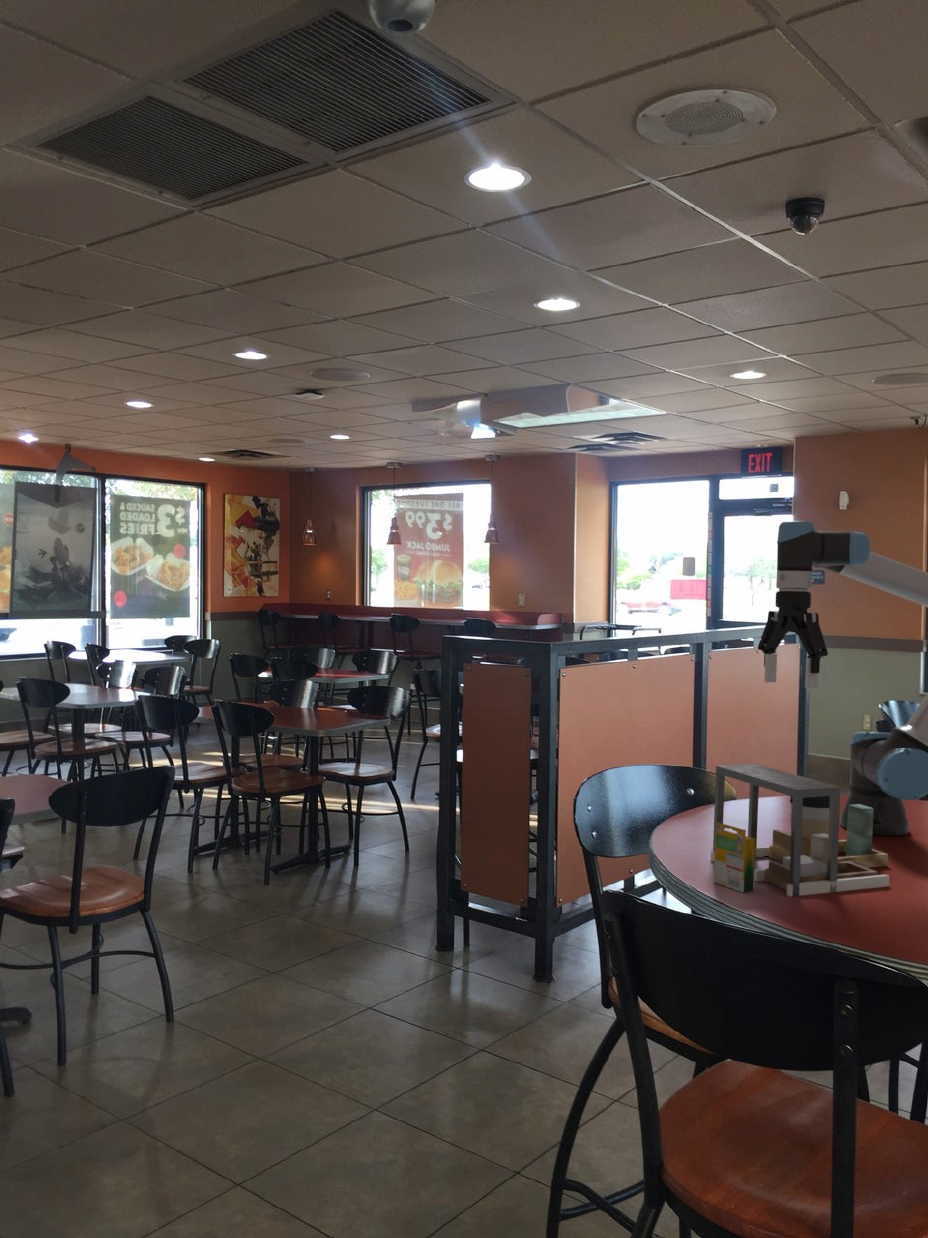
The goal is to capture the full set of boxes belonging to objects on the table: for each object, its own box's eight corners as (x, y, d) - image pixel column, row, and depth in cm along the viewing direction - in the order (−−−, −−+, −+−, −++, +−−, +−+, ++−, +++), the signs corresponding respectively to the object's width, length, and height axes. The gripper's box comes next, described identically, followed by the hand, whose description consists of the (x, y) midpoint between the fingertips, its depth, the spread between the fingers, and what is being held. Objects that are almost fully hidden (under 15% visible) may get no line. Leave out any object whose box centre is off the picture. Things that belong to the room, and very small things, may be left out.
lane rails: (801, 852, 210) (801, 843, 210) (888, 886, 187) (889, 875, 187) (710, 860, 201) (710, 850, 201) (790, 896, 179) (790, 885, 178)
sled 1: (845, 850, 212) (847, 800, 212) (887, 866, 201) (889, 812, 200) (769, 857, 205) (771, 804, 204) (808, 873, 194) (810, 818, 193)
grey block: (803, 881, 189) (804, 855, 189) (821, 888, 185) (822, 862, 184) (782, 883, 187) (783, 857, 187) (800, 890, 183) (801, 864, 183)
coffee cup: (837, 872, 196) (840, 797, 195) (789, 867, 198) (792, 793, 197) (830, 860, 204) (833, 788, 204) (785, 856, 206) (788, 785, 206)
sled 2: (848, 873, 195) (850, 828, 194) (877, 884, 188) (879, 837, 187) (765, 881, 188) (766, 834, 187) (791, 893, 180) (793, 844, 180)
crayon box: (754, 891, 181) (756, 828, 181) (743, 893, 180) (745, 830, 179) (723, 880, 188) (726, 820, 187) (712, 882, 186) (715, 821, 186)
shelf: (753, 856, 205) (756, 763, 205) (836, 891, 182) (840, 787, 182) (712, 860, 202) (716, 765, 201) (792, 896, 179) (796, 789, 178)
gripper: (744, 589, 230) (741, 679, 231) (819, 590, 207) (815, 691, 208) (770, 590, 233) (767, 679, 234) (847, 591, 210) (843, 690, 210)
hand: (790, 685), depth 221 cm, fingers open, 13 cm apart
